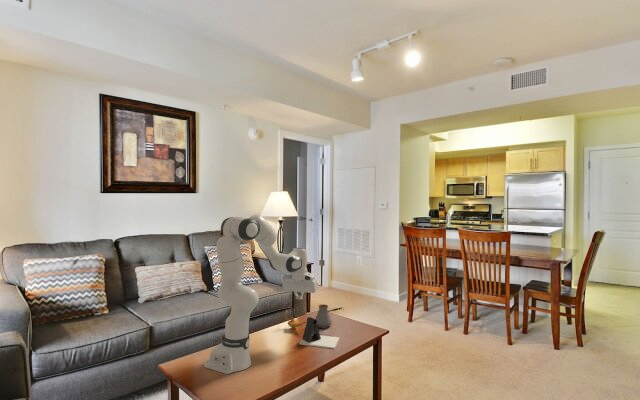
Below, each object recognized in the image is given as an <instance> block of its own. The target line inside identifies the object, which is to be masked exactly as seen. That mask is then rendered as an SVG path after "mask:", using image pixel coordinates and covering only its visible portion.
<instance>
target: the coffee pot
mask: <svg viewBox="0 0 640 400" xmlns="http://www.w3.org/2000/svg"><path fill="white" fill-rule="evenodd" d="M317 306H318V311H317V313H316V316H315V318H314V319H315V320H317V327H318V329H326V328H329V327H330V326H331V325H332V322H333V321H332V318H331V316H330V312H335V311H338V310H340V311H342V312H343V311H344V308H343V307H338V308H337V307H336V308H333V309H330V310H328V307H329V305H328V304H319V305H317Z"/></svg>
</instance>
